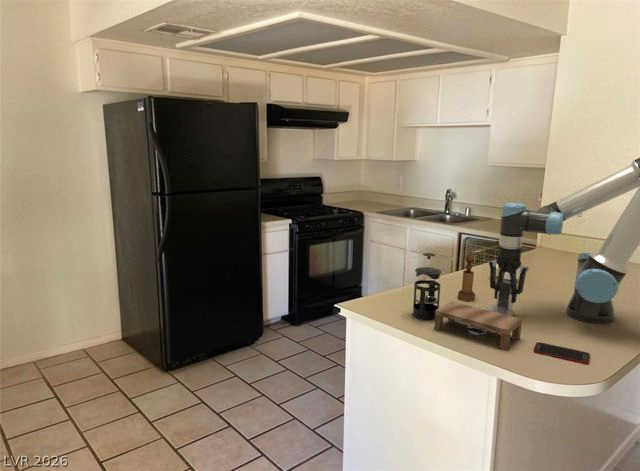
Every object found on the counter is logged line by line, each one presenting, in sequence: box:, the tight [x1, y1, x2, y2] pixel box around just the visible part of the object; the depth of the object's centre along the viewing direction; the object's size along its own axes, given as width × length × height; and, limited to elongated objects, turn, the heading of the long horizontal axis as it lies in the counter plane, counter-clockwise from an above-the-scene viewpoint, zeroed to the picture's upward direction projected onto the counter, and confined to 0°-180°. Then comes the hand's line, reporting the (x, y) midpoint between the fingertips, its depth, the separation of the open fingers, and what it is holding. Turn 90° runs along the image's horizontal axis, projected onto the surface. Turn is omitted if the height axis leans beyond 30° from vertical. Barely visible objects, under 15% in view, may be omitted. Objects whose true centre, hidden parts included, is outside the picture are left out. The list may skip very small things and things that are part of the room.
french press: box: [411, 252, 442, 322], centre depth 167 cm, size 12×9×23 cm
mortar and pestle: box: [457, 254, 476, 302], centre depth 185 cm, size 7×6×18 cm
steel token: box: [466, 324, 487, 338], centre depth 154 cm, size 6×6×2 cm
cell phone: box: [533, 341, 591, 366], centre depth 140 cm, size 8×15×1 cm, turn 58°
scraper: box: [483, 280, 514, 317], centre depth 165 cm, size 8×19×12 cm, turn 139°
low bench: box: [433, 300, 523, 351], centre depth 153 cm, size 24×12×6 cm, turn 49°
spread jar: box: [489, 264, 520, 281], centre depth 212 cm, size 12×11×12 cm
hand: (504, 309), depth 172 cm, fingers closed on scraper, 3 cm apart
